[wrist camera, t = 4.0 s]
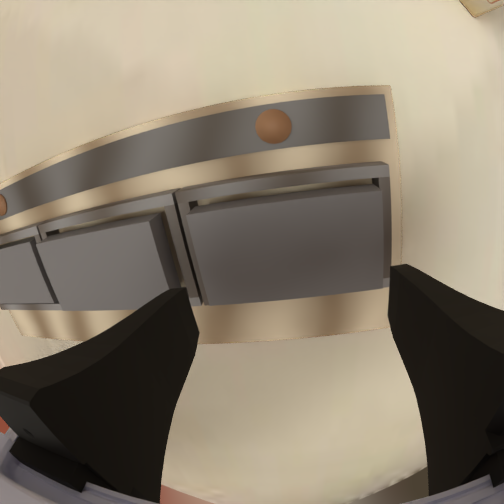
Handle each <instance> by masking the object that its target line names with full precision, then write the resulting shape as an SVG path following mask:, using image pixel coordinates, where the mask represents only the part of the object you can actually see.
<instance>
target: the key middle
mask: <svg viewBox="0 0 504 504" xmlns="http://www.w3.org/2000/svg"><path fill="white" fill-rule="evenodd" d="M36 246H37V249H38V252H39V255H40V257H41V260H42V263H43V265H44V268H45V270H46V273H47V275H48V278H49V280H50V283H51V285H52V287H53V290H54V292H55V294H56V297H57V299H58V301H59V303H60V305H61V308H62V310H63V311H103V310H138V309H139V308H140V307H142V306H143V305H145V304H146V303H148V302H149V301H151V300H152V299H154V298H155V297H157V296H158V295H160V294H161V293H163V292H165V291H167V290H169V289H172V288H182V287H181V284H180V281H179V278H178V274H177V271H176V268H175V264H174V261H173V257H172V254H171V250H170V247H169V243H168V239H167V236H166V232H165V228H164V224H163V221H162V217H161V213H155V214H150V215H145V216H139V217H134V218H129V219H124V220H119V221H114V222H109V223H104V224H100V225H95V226H90V227H86V228H81V229H76V230H72V231H68V232H63V233H59V234H55V235H50V236H48V237H47V238H45V239H43V240H42V241H40V242H39V243H37V244H36Z"/></svg>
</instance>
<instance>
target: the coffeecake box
mask: <svg viewBox="0 0 504 504" xmlns="http://www.w3.org/2000/svg"><path fill="white" fill-rule="evenodd" d="M460 1H461V3H462V4H463V5H464V6H465V7H466V8H467V10H468V11H469V12H470V13H471V14H472V16H473V17H478V16H480V15H482V14H484V13H486V12H489V11H491V10H494V9H496V8H498V7H501V6H503V5H504V0H460Z"/></svg>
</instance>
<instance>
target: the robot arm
mask: <svg viewBox="0 0 504 504" xmlns="http://www.w3.org/2000/svg"><path fill="white" fill-rule="evenodd" d="M387 316H388V320H389V324H390V327H391V331H392V334H393V338H394V341H395V343H396V346H397V348H398V350H399V353H400V355H401V358H402V360H403V363H404V365H405V368H406V370H407V373H408V375H409V378H410V380H411V383H412V386H413V388H414V392H415V395H416V398H417V403H418V407H419V412H420V416H421V421H422V427H423V433H424V439H425V446H426V455H427V465H428V481H429V482H428V483H429V496H428V497H425V498H421V499H417V500H414V501H410V502H406V503H401V504H504V311H503V310H500V309H497V308H494V307H492V306H489V305H487V304H484V303H482V302H479V301H477V300H474V299H472V298H470V297H468V296H466V295H464V294H462V293H460V292H458V291H456V290H454V289H452V288H450V287H448V286H447V285H445V284H443V283H441V282H439V281H438V280H436V279H434V278H432V277H431V276H429V275H427V274H425V273H424V272H422V271H420V270H418V269H416V268H414V267H412V266H410V265H408V264H403V265H395V266H390V282H389V300H388V314H387ZM199 334H200V332H199V329H198V326H197V323H196V320H195V317H194V313H193V310H192V307H191V304H190V301H189V298H188V294H187V291H186V288H172V289H169V290H167V291H165V292H163V293H161V294H160V295H158V296H157V297H155V298H154V299H152V300H151V301H149V302H148V303H146V304H145V305H143V306H142V307H140V308H139V309H138V310H136V311H135V312H133V313H132V314H130V315H129V316H127V317H126V318H124V319H123V320H121V321H119V322H118V323H116V324H115V325H113V326H112V327H110V328H109V329H107V330H105V331H103V332H102V333H100V334H98V335H96V336H94V337H92V338H91V339H89V340H87V341H85V342H83V343H81V344H78V345H76V346H74V347H71V348H69V349H67V350H64V351H62V352H59V353H57V354H54V355H51V356H48V357H45V358H42V359H38V360H35V361H31V362H27V363H23V364H18V365H13V366H8V367H3V368H2V369H0V416H1V417H2V419H3V420H4V421H5V422H6V423H7V424H8V426H9V427H10V428H9V429H8V430H7V432H6V433H5V434H3V433H1V432H0V504H160V490H161V478H162V471H163V463H164V456H165V450H166V445H167V440H168V435H169V430H170V426H171V422H172V417H173V413H174V410H175V407H176V404H177V401H178V398H179V396H180V393H181V390H182V388H183V385H184V383H185V380H186V377H187V375H188V372H189V370H190V367H191V364H192V362H193V359H194V356H195V352H196V348H197V344H198V339H199Z"/></svg>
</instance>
